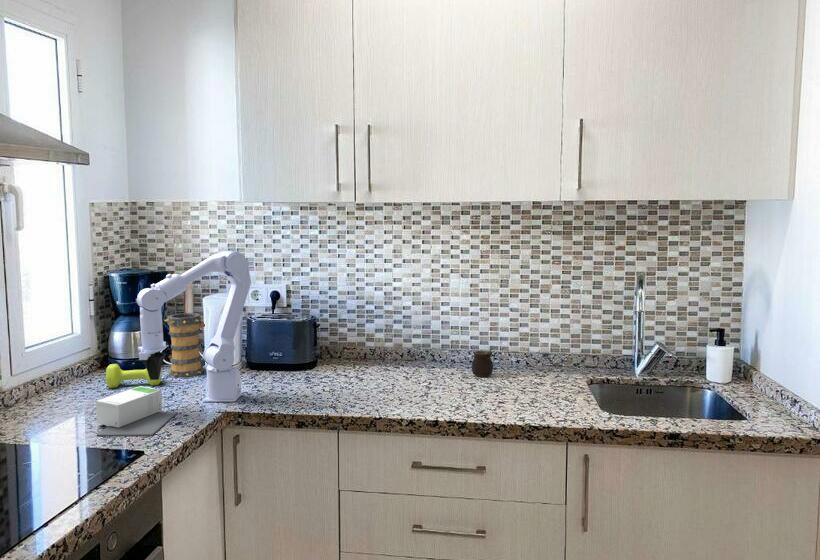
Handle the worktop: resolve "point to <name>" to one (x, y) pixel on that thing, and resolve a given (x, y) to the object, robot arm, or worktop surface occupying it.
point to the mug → (185, 344)
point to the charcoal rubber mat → (140, 426)
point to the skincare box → (128, 406)
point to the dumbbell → (126, 376)
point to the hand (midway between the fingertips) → (154, 379)
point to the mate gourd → (482, 363)
